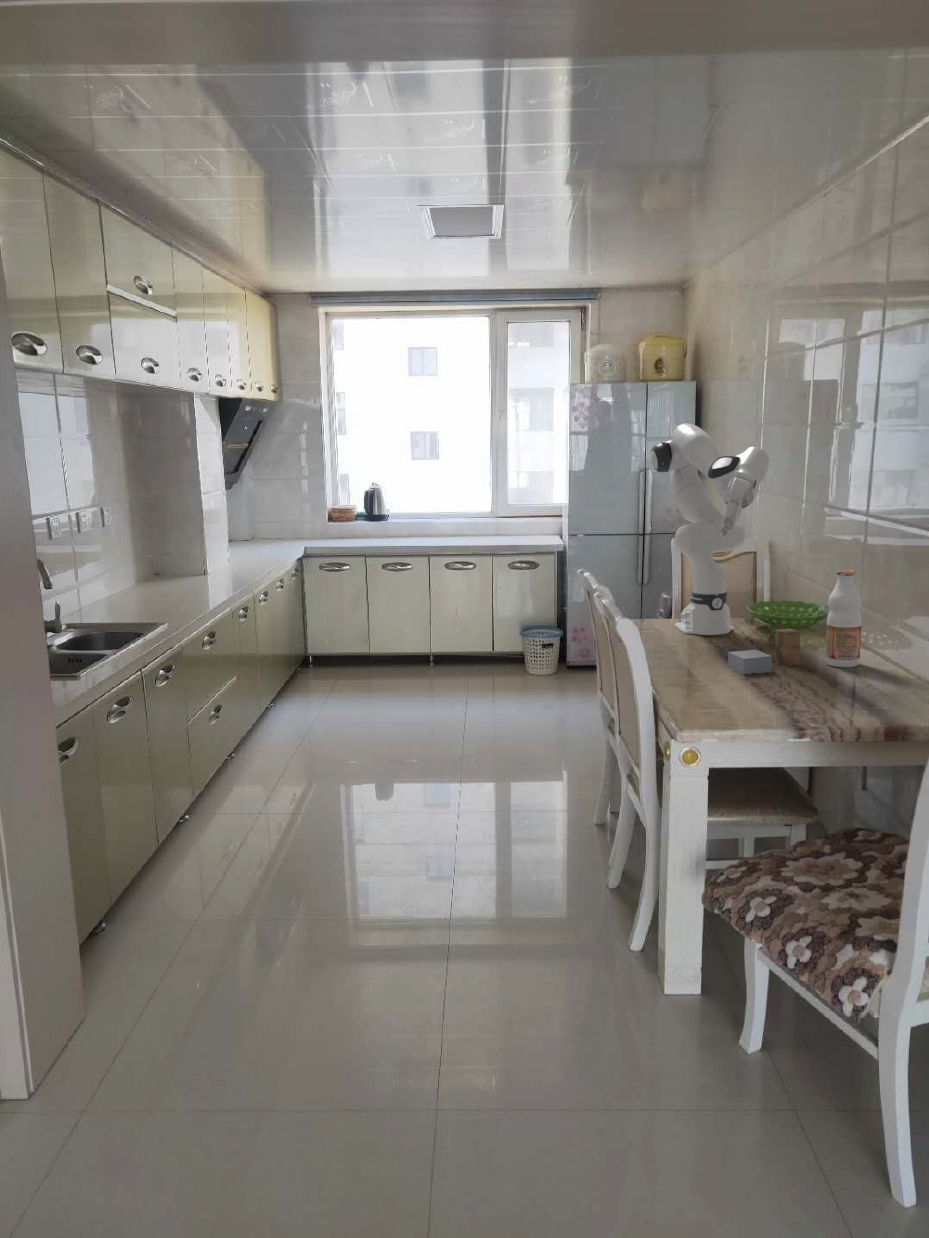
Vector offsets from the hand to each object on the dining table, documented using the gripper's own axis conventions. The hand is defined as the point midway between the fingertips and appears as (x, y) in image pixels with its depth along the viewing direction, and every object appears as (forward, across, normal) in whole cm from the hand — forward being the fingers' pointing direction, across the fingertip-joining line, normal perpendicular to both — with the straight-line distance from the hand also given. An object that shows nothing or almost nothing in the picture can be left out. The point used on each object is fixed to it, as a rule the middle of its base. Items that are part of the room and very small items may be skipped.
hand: (725, 525), depth 270 cm
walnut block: (+23, -24, +31) cm, 46 cm away
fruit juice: (+18, -22, +46) cm, 54 cm away
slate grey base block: (+33, -18, +22) cm, 44 cm away
